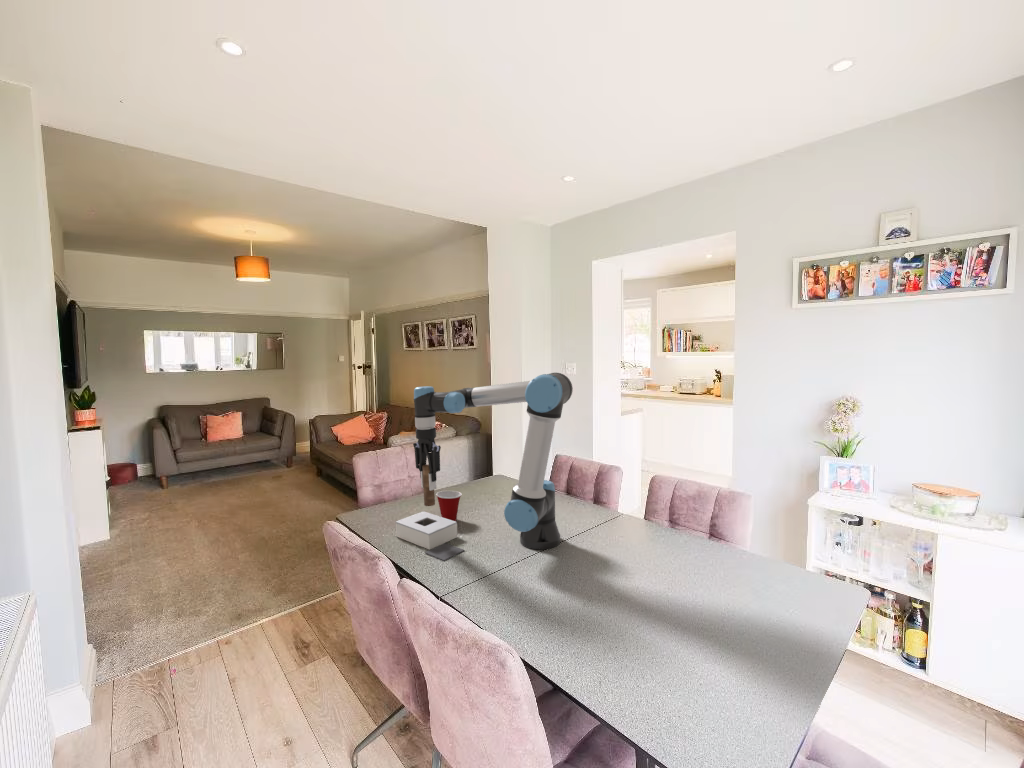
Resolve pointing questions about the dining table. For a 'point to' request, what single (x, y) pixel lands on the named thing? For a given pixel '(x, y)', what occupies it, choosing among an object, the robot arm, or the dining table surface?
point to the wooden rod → (427, 487)
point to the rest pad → (444, 551)
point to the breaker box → (426, 529)
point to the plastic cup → (449, 504)
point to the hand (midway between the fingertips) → (428, 488)
